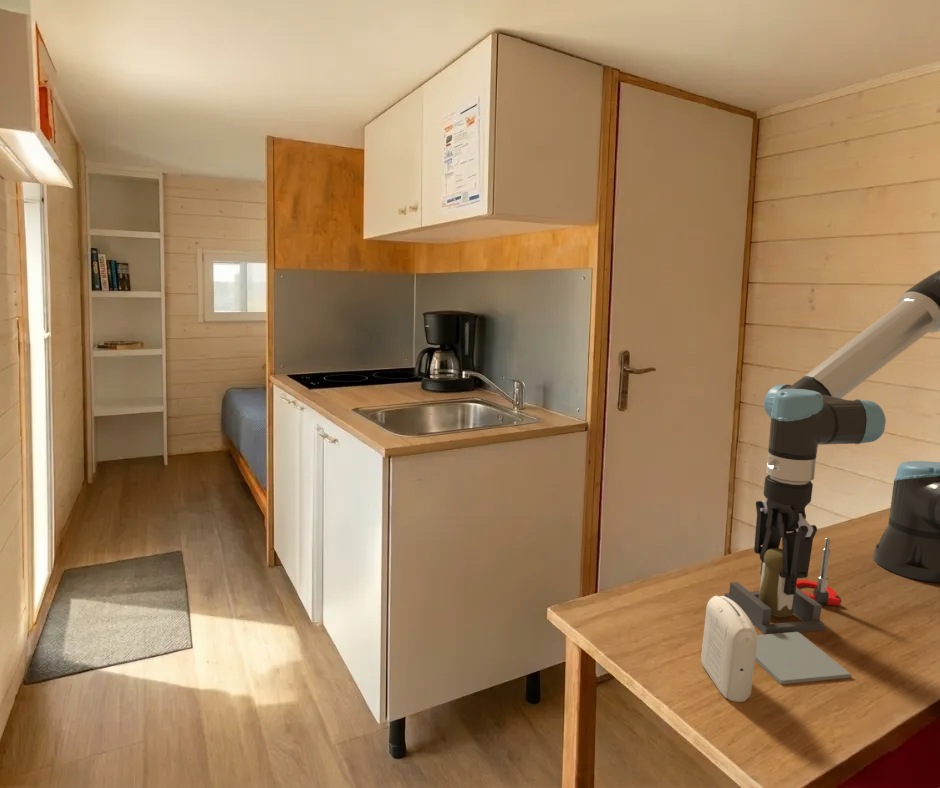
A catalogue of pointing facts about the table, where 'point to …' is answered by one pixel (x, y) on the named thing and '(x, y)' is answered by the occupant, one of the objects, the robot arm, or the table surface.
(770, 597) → the cork
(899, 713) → the table surface
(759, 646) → the mat
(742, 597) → the grey square frame
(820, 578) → the tow hook
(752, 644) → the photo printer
